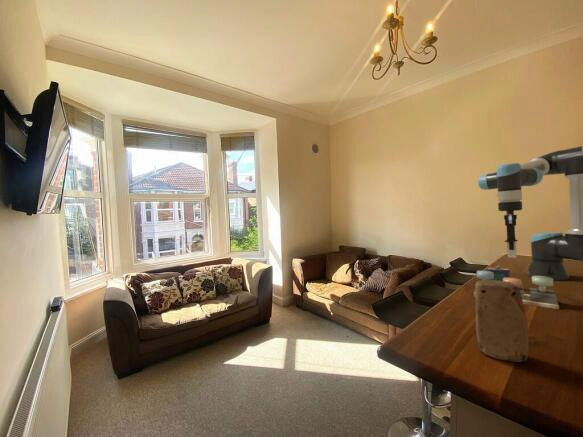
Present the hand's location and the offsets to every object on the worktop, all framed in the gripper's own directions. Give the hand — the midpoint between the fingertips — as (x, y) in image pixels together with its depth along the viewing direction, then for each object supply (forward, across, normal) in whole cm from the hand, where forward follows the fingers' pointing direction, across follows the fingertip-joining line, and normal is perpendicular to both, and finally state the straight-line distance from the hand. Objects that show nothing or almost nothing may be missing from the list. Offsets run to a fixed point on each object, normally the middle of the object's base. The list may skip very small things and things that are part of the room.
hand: (512, 257), depth 105 cm
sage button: (+14, 0, +9) cm, 16 cm away
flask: (+18, -14, -6) cm, 24 cm away
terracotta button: (+16, 0, 0) cm, 16 cm away
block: (+17, +52, -2) cm, 55 cm away
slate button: (+14, 0, -9) cm, 16 cm away
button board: (+18, 0, 0) cm, 18 cm away
